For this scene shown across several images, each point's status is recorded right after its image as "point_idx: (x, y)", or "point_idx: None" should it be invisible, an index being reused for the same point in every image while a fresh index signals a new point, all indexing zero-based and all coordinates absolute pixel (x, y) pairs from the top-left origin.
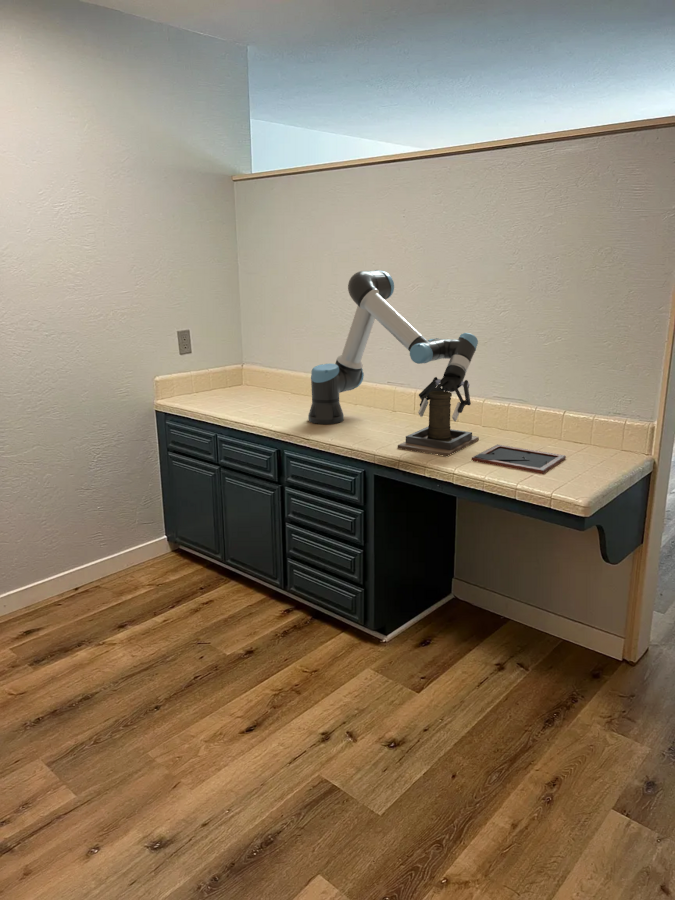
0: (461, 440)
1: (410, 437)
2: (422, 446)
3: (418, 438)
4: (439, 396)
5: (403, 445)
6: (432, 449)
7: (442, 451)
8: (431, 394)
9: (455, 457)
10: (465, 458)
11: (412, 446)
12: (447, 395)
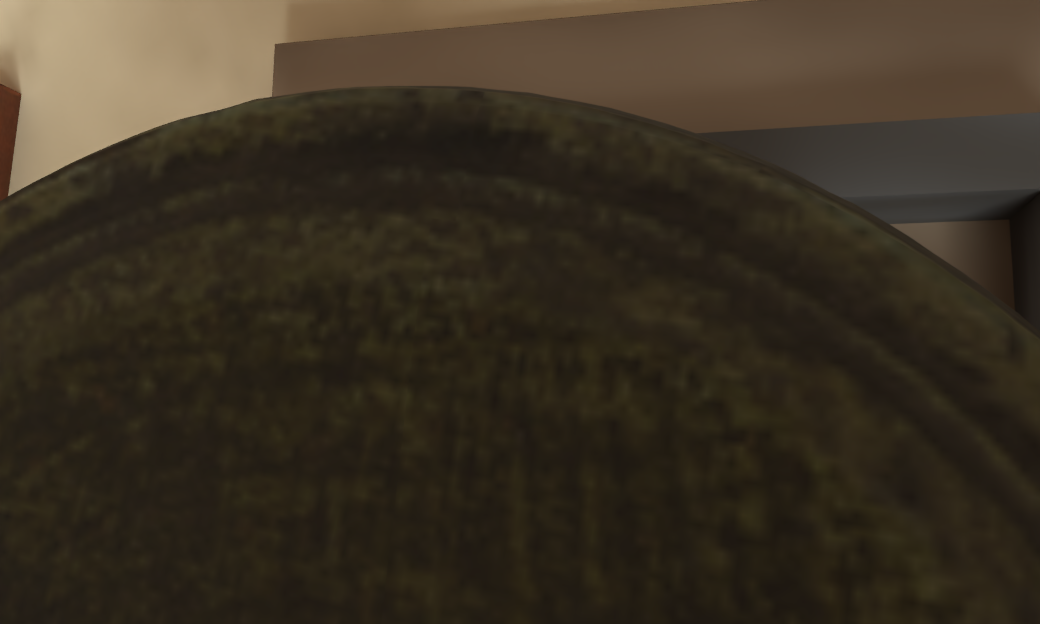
0: None
1: (1008, 114)
2: (722, 128)
3: (832, 127)
4: (61, 178)
5: (1017, 3)
6: (520, 80)
7: (364, 78)
8: (713, 180)
9: (208, 94)
10: (100, 127)
11: (855, 39)
12: None
